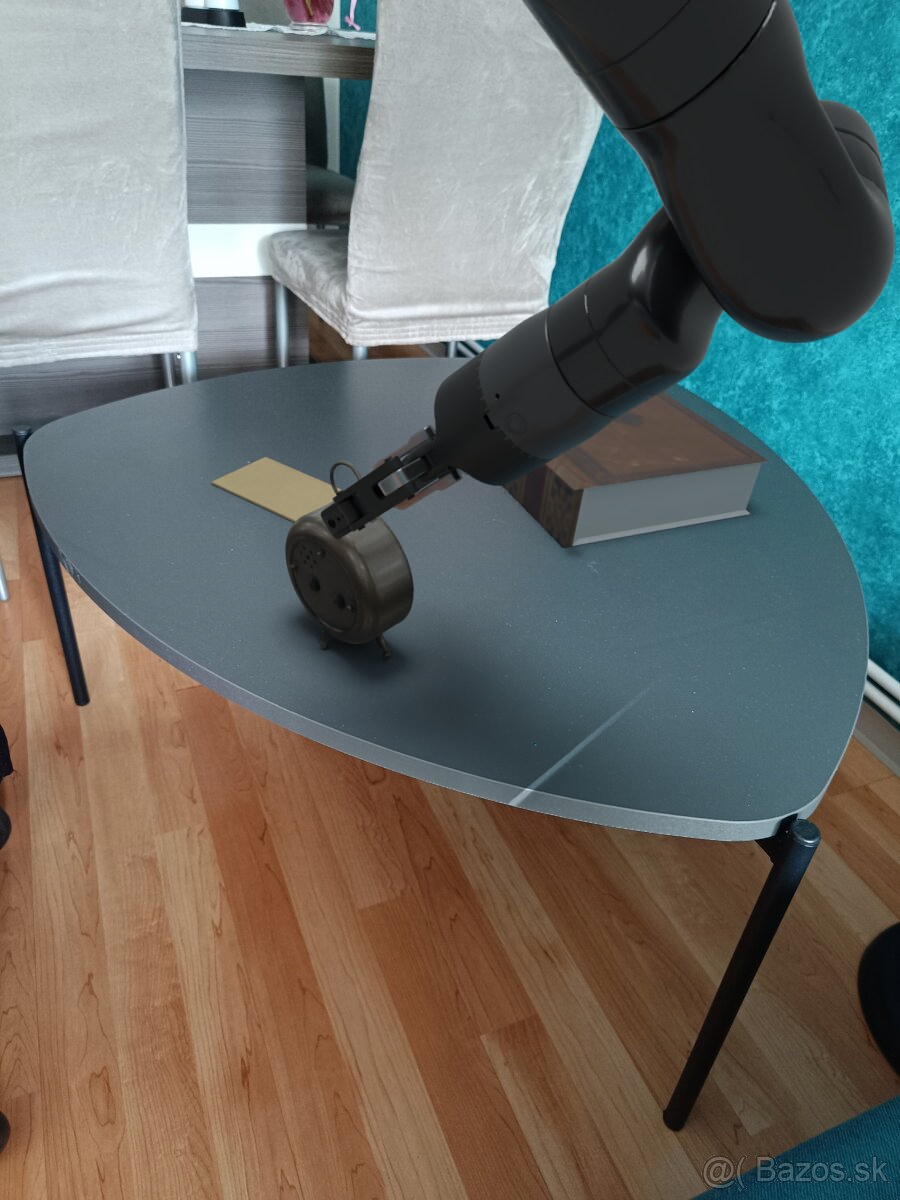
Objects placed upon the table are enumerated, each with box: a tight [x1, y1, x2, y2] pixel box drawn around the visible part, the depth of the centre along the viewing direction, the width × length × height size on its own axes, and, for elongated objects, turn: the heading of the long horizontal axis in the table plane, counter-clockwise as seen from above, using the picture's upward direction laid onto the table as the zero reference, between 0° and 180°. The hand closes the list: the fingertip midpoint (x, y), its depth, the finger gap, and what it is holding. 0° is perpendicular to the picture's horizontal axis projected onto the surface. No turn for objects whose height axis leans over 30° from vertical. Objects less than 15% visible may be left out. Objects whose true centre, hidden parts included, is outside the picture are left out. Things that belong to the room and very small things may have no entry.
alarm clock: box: [284, 459, 415, 660], centre depth 64 cm, size 11×5×16 cm, turn 47°
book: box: [502, 391, 769, 548], centre depth 96 cm, size 24×28×6 cm
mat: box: [211, 456, 345, 523], centre depth 88 cm, size 8×12×1 cm, turn 56°
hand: (369, 502), depth 60 cm, fingers open, 8 cm apart
